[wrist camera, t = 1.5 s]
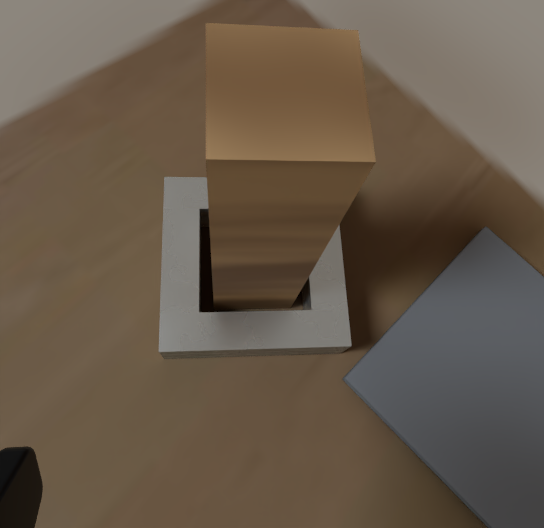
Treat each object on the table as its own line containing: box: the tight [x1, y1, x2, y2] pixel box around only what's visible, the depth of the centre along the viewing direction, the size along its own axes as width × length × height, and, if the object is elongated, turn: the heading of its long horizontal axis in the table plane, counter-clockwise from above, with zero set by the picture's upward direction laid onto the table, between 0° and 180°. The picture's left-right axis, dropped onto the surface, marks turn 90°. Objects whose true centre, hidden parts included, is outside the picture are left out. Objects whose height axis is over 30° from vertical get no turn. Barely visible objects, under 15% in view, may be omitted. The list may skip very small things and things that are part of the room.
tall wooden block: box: [206, 23, 376, 310], centre depth 17 cm, size 4×4×13 cm
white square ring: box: [159, 177, 352, 359], centre depth 22 cm, size 8×8×2 cm
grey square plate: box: [343, 227, 544, 528], centre depth 22 cm, size 11×11×1 cm
